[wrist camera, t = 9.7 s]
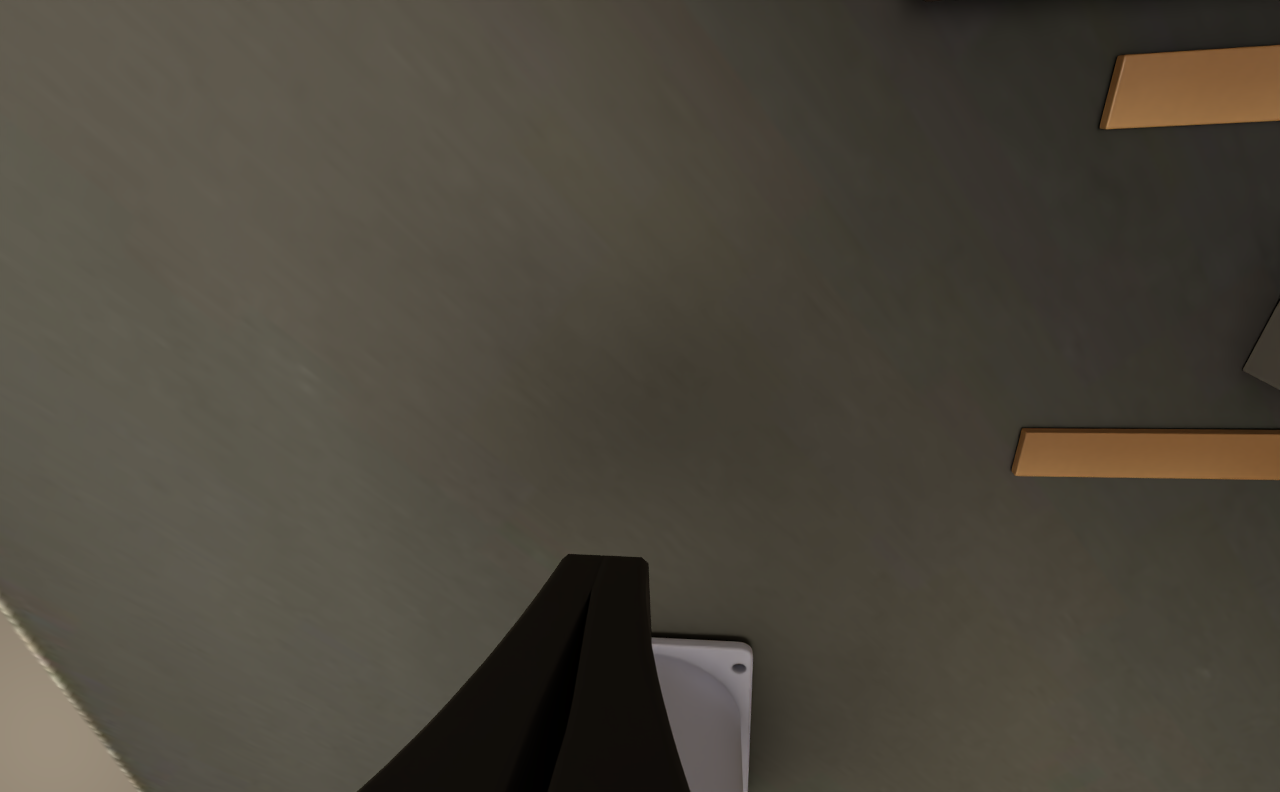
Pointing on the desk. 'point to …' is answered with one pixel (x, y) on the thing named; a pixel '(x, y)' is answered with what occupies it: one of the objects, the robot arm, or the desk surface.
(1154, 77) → the cork bay
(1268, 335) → the dice cube
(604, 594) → the robot arm
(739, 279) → the desk surface
